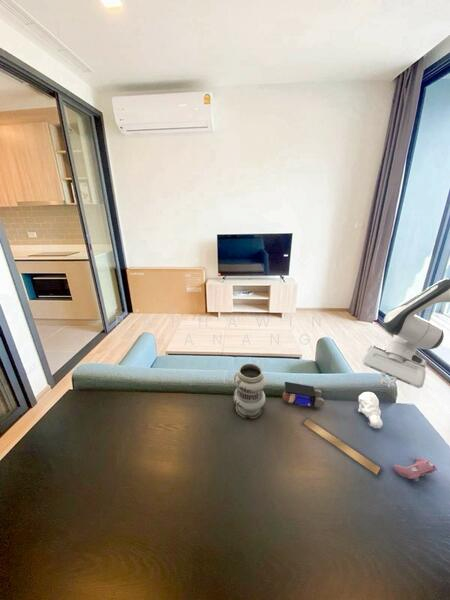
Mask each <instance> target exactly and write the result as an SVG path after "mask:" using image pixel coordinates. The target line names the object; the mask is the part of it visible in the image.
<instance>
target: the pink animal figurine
mask: <svg viewBox="0 0 450 600" xmlns="http://www.w3.org/2000/svg"><path fill="white" fill-rule="evenodd" d="M414 462H415V463H413V464H411V465H408V466H402V465H399V464H394V465H393V470H394V472H395V473H397V474H398V475H399V476H401V477H403V478H405V479H408V480H414V481H415V482H417V481H419V480H420V478H419V477H424V476H425V475H426V474H432V473H434V472H436V471H438V468H437V467H436V465H435V464H434V463H433V461H431V460H429V459H425V458H421V457H415V459H414Z"/></svg>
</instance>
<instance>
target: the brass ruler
mask: <svg viewBox="0 0 450 600" xmlns="http://www.w3.org/2000/svg"><path fill="white" fill-rule="evenodd" d="M303 425H304V426H305V427H307V428H308V429H310V430H311V431H313V432H314V433H315V434H317V435H318V436H320V437H321V438H322V439H324V440H326V441H327V442H328V443H329V444H331V445H332V446H334V447H335V448H336V449H338V450H340V451H341V452H342V453H344V454H345V455H347V456H348V457H349V458H351V459H353V460H354V461H355V462H357V463H358V464H360V465H361V466H363V467H364V468H365V469H367V470H368V471H370V472H371V473H373V475H375V476H378V474H379V473H380V470H381V467H380V466H379V465H377V464H376V463H374V462H373V461H371V460H370V459H368V458H367V457H365V456H363V455H362V454H361V453H359V452H358V451H356V450H355V449H353V448H352V447H350V446H349V445H347V444H346V443H344V442H343V441H341V440H340V439H338V438H337V437H335V436H334V435H333V434H331V433H329V432H328V431H327V430H325V429H324V428H322V427H321V426H319V425H318V424H316V423H315V422H313V421H311V420H310V419H309V418H308V419H306V420H305V421H304V422H303Z"/></svg>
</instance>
